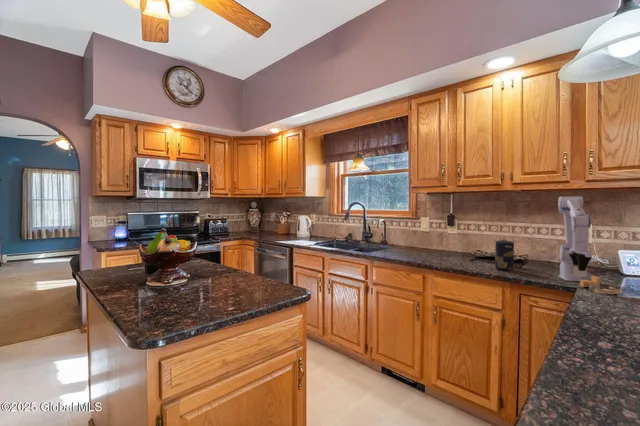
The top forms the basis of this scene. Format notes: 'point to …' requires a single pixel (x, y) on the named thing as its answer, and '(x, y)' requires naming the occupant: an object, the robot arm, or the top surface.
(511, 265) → the canister
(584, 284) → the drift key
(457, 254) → the top surface
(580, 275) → the grey block
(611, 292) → the tan flat bracket
